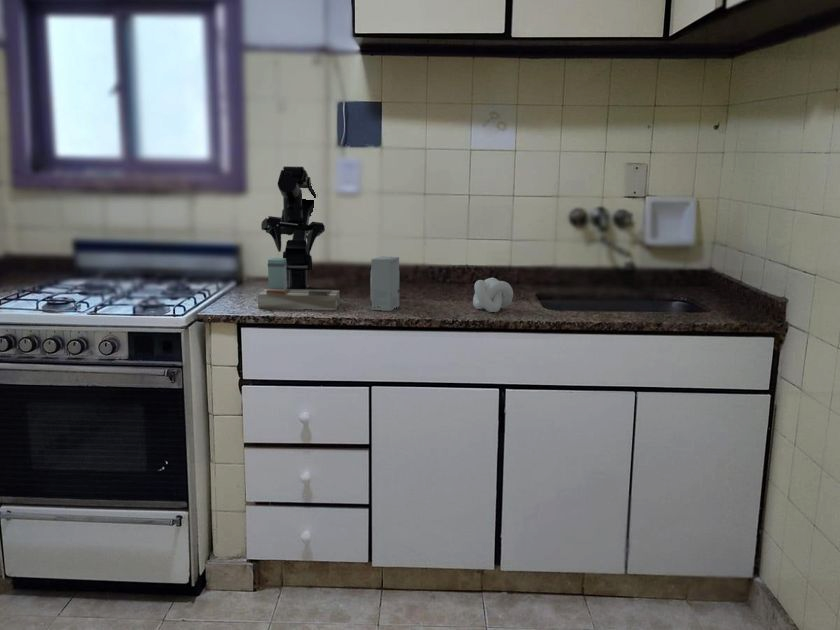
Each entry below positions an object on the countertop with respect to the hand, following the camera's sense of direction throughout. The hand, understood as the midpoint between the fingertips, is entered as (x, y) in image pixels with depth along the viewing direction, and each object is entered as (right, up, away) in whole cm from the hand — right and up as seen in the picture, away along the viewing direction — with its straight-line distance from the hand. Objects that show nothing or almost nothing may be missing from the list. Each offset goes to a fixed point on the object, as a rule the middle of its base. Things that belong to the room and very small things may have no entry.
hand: (294, 252), depth 233 cm
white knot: (+60, -18, -13) cm, 63 cm away
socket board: (+4, -16, -12) cm, 20 cm away
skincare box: (+29, -17, -13) cm, 36 cm away
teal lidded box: (-4, -15, -4) cm, 16 cm away
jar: (+28, -15, -2) cm, 32 cm away
